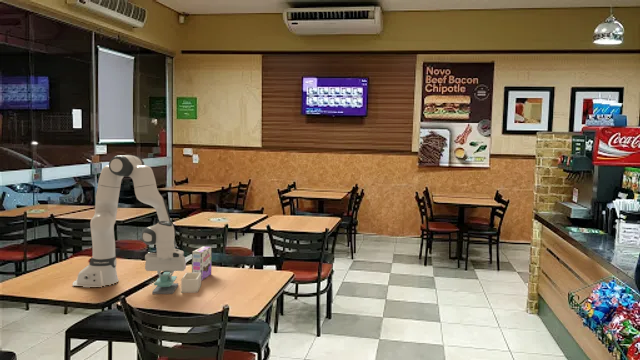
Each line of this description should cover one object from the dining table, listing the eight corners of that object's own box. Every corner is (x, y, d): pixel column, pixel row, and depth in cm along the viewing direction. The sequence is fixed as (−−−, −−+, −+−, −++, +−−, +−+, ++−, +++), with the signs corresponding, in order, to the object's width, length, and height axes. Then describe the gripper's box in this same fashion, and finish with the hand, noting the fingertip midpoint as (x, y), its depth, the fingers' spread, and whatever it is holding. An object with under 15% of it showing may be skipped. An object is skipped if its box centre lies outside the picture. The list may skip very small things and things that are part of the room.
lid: (154, 287, 243) (154, 277, 242) (160, 280, 255) (160, 270, 255) (171, 287, 243) (171, 277, 243) (176, 280, 256) (176, 270, 256)
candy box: (201, 281, 265) (201, 252, 264) (191, 280, 266) (191, 251, 265) (211, 274, 279) (211, 246, 277) (202, 273, 280) (202, 245, 278)
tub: (181, 292, 245) (181, 279, 245) (185, 285, 257) (185, 272, 257) (197, 292, 246) (197, 279, 245) (201, 285, 258) (201, 272, 257)
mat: (152, 294, 242) (152, 291, 242) (159, 285, 256) (159, 283, 256) (172, 294, 243) (172, 291, 243) (178, 285, 257) (178, 283, 257)
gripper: (143, 254, 244) (143, 280, 245) (184, 254, 246) (184, 280, 247) (146, 251, 250) (146, 277, 251) (186, 251, 252) (186, 277, 253)
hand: (165, 278), depth 249 cm, fingers closed on lid, 3 cm apart
